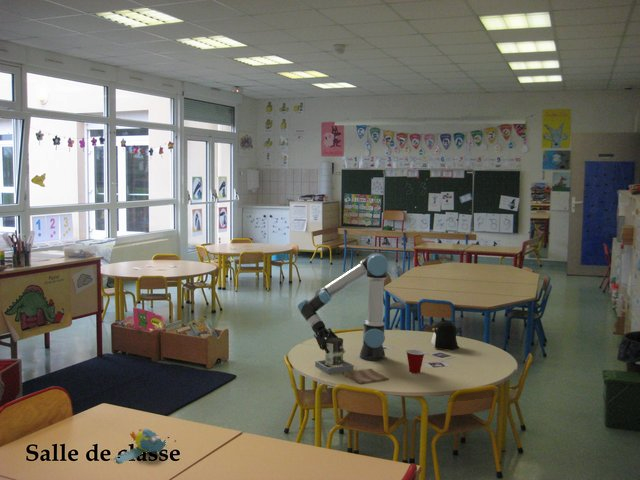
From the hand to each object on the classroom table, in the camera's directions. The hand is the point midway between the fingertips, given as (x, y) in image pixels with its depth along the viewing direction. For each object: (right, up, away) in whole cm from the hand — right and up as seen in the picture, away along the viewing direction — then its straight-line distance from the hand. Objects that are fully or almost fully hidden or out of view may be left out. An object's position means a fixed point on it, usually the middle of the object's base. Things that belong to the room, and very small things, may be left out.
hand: (338, 355), depth 353 cm
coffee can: (-2, -5, +2) cm, 6 cm away
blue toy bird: (-78, -18, -107) cm, 133 cm away
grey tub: (-2, -8, +3) cm, 9 cm away
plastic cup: (+43, -9, -2) cm, 44 cm away
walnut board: (+14, -10, -12) cm, 21 cm away
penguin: (+70, -5, +49) cm, 86 cm away
